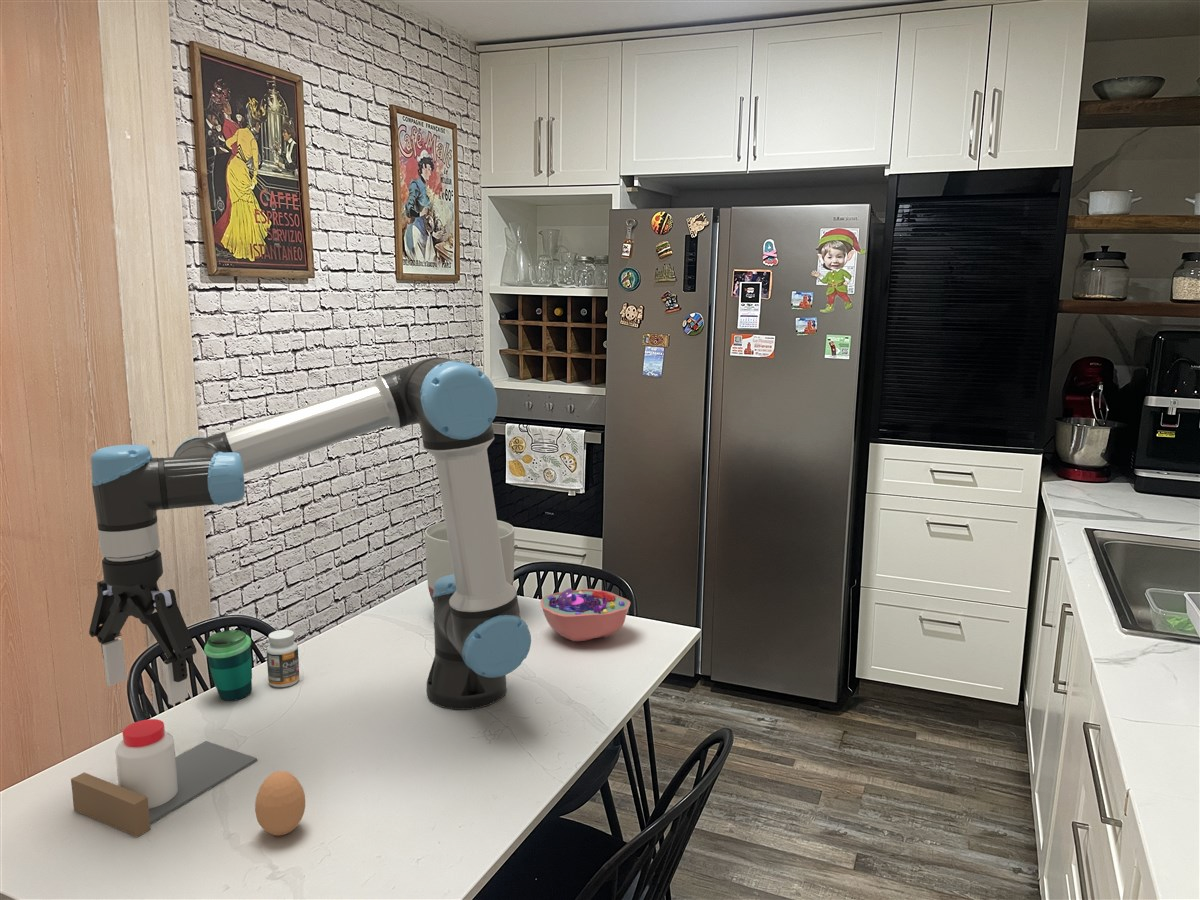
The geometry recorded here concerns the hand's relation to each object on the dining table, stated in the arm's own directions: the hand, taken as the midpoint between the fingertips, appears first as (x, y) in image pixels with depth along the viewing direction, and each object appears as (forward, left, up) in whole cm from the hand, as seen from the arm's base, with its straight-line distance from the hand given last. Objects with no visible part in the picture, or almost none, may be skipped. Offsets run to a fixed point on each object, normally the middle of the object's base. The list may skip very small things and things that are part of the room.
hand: (147, 691), depth 127 cm
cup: (+16, -28, -17) cm, 37 cm away
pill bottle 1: (0, +1, -17) cm, 17 cm away
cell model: (-30, -84, -17) cm, 91 cm away
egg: (-24, -2, -17) cm, 29 cm away
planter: (-1, -82, -17) cm, 84 cm away
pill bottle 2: (+12, -37, -17) cm, 42 cm away
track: (0, -4, -17) cm, 17 cm away
